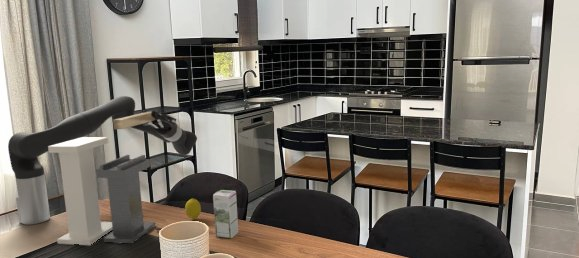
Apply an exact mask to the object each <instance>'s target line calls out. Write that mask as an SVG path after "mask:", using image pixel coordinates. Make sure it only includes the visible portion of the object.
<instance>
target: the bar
mask: <svg viewBox="0 0 579 258" xmlns="http://www.w3.org/2000/svg"><path fill="white" fill-rule="evenodd" d="M155 111H156V112H157V113H158V114H160V112H159V110H155ZM151 112H152V110H149V111H147V112H145V113H142V112H141V113H137V114H134V115H132V116H128V117H124V118H119V119H115V120H113V119H112V122H113V130H124V129H127V128H131V127H132V126H136V125H139V124H143V123H146V122H150V121H153V120H157V119H155V118H154V117H152V116H151Z"/></svg>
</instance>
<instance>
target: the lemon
mask: <svg viewBox="0 0 579 258" xmlns="http://www.w3.org/2000/svg"><path fill="white" fill-rule="evenodd" d="M201 207H202V205H201V203H200V201H198V200H197V199H196V198H191V199H189V200H188V201H187V202H186V204H185V207H184V211H185V215H186V216H187V218H189V219H191V220H193V221H194V220H196V218H198V217H199V216H200V215H201V211H202V208H201Z"/></svg>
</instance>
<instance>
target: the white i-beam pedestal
mask: <svg viewBox="0 0 579 258" xmlns="http://www.w3.org/2000/svg"><path fill="white" fill-rule="evenodd" d="M107 144H109V137H108V136H99V137H98V136H95V137H93V136H92V137H90V136H84V137H81V138H77V139H74V140H70V141H66V142H63V143H59V144H55V145H51V146H48V150H49V151H48V153H49V154H50V153H52V154H53V153H54V154H55V153H57V154H59V164H60V172H61V180H62V181H61V182H62V187H63V196H64V197H63V198H64V204H65V212H66V221H67V229H68V232H67V233H65V234H64V235H62V236H61V237H60V236H59V238H57V239H56V241H57V244H58V245H74V244H79V245H80V246H92V245H94V244H95V243H97V242H98V241H99V240H98V239H100V238H101V237H102V236H104V235H105V234H107V233H108V232H110V231H111V230H113V228H112V221H102V220H101V212H100V203H99V202H100V201H99V194H98V184H97V175H96V167H95V165H96V164H95V157H94V148H96V147H97V148H98V147H100V146H103V145H107ZM110 233H111V232H110ZM107 235H108V234H107ZM104 237H105V236H104ZM101 239H102V238H101ZM101 239H100V240H101ZM97 240H98V241H97ZM96 241H97V242H96ZM94 242H95V243H94ZM93 243H94V244H93ZM91 244H92V245H91ZM79 245H78V246H79Z"/></svg>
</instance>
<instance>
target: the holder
mask: <svg viewBox="0 0 579 258" xmlns="http://www.w3.org/2000/svg"><path fill="white" fill-rule="evenodd" d="M150 167H151V160H150V158H149V159H147V158H146V154H141V155H139V156H137V157H135V158H130V154H125V155H122V156H120V157H118V158H115V159H112V160H109V161H108V162H105V163H102V164H100V165H99V168H98V169H95V174H96V179H106V181H107V189H108V190H107V191H108V198H109V200H108V201H109V209H110V217H111V218H110V219H111V222H112V228H113V231H112V232H110V233H109V234H107V235H106V236H104V237H103V238H102V239H103V243H104V242H122V243H132V242H134V241H135V240H136V239H138V238H139V237H140V236H142V235H143V234H145V233H146V234H147V233H149V232H150V231H151V230H153V229H154V228H155V227H157V226H156V222H155V221H144V215H143V205H142V203H143V202H142V195H141V194H142V193H141V182H140V172H141V171H144V170H147V169H148V168H150ZM146 234H145V235H146ZM143 236H144V235H143ZM143 236H142V237H143ZM139 239H140V238H139ZM139 239H138V240H139ZM134 243H135V242H134Z"/></svg>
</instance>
